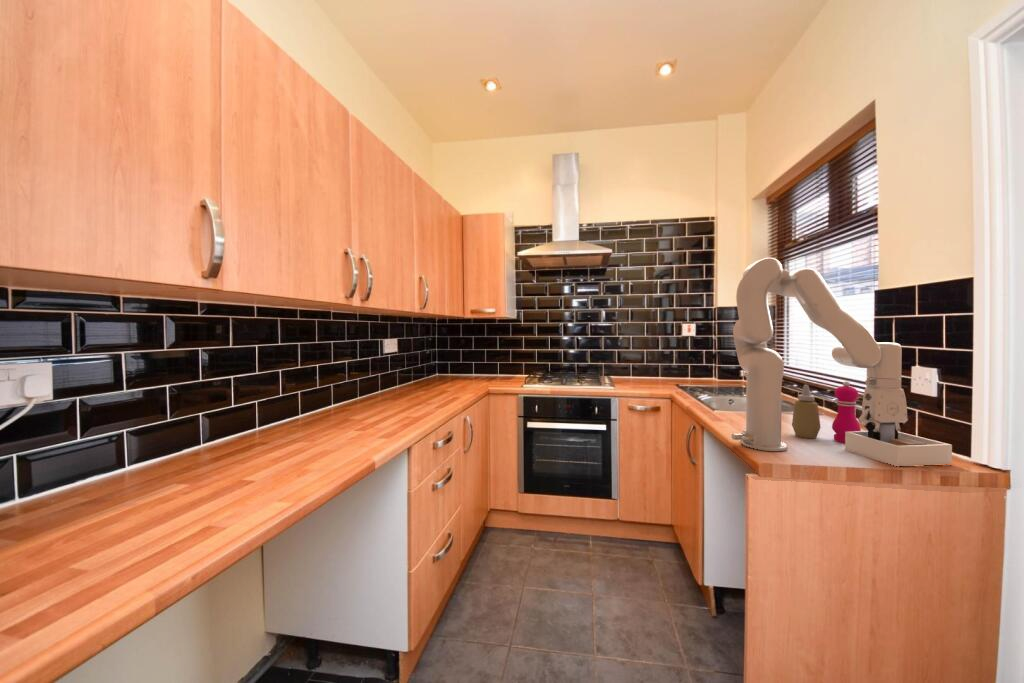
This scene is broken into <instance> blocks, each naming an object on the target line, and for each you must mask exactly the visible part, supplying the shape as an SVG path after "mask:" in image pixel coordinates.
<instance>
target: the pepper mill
mask: <svg viewBox="0 0 1024 683" xmlns="http://www.w3.org/2000/svg"><path fill="white" fill-rule="evenodd" d="M850 385H851V383H850V382H849V381H847V380H846V381H844V382H843V383H842V386H838V387H837V388H835V390H834V397H836V399H837V400H836V405H837V414H836V416H835V417H834V419H833V422H832V424H831V428H832V431H833V432H834V434H833V440H834V441H836V442H838V443H841V444H842V443H843V444H845V432H852V431H862V429H861V426H860V422H859V421H858V419H857V417H856V413H855V412H856V411H855V407H856V406H857V401H856V400H857V399H858V398H859V392H858V390H857V389H856V388H855V387H853V386H850Z"/></svg>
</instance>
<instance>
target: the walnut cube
mask: <svg viewBox="0 0 1024 683" xmlns="http://www.w3.org/2000/svg"><path fill="white" fill-rule="evenodd" d="M891 444H893V445H897V446H903V445H927V444H926V443H922V442H919V441H915V440H911V439H891Z"/></svg>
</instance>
